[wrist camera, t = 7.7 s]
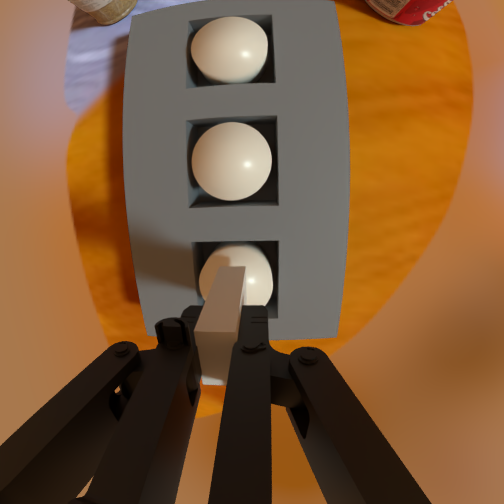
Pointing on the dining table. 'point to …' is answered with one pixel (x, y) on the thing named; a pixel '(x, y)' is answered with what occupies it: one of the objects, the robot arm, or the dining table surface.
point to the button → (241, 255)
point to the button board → (282, 168)
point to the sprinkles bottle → (106, 9)
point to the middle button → (231, 161)
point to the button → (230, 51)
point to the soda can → (407, 10)
